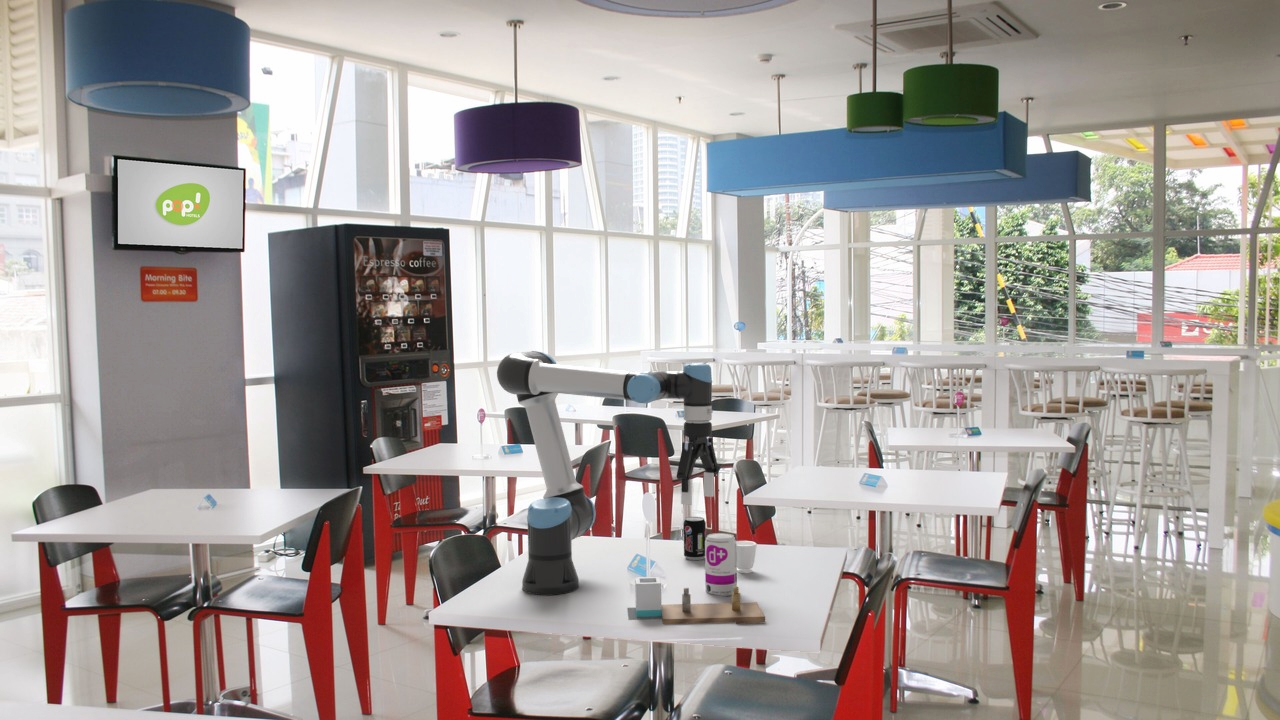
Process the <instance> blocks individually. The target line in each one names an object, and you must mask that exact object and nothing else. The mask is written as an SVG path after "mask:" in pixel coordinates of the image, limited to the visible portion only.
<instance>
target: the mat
mask: <svg viewBox="0 0 1280 720" xmlns="http://www.w3.org/2000/svg"><path fill="white" fill-rule="evenodd" d="M626 608H627V617H628V621H634V620H635V621H636V620H637V621H638V620H639V621H640V620H662V616H656V617H637V616H636V607H626Z"/></svg>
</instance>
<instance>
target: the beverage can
mask: <svg viewBox="0 0 1280 720" xmlns="http://www.w3.org/2000/svg"><path fill="white" fill-rule="evenodd" d="M706 524H707V523H706V520H705V517H701V516H688V517H685V518H684V521H683V556H684V557H685V559H686V560H690V561H701V560H705V540H706V538H707V525H706Z"/></svg>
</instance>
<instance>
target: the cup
mask: <svg viewBox="0 0 1280 720" xmlns="http://www.w3.org/2000/svg"><path fill="white" fill-rule="evenodd" d="M757 545H758V544H757V543H756V542H755V541H751V540H736V555H737V574H738V573H740V574H751V573H753V568H754V564H755V558H756V551H757Z"/></svg>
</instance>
